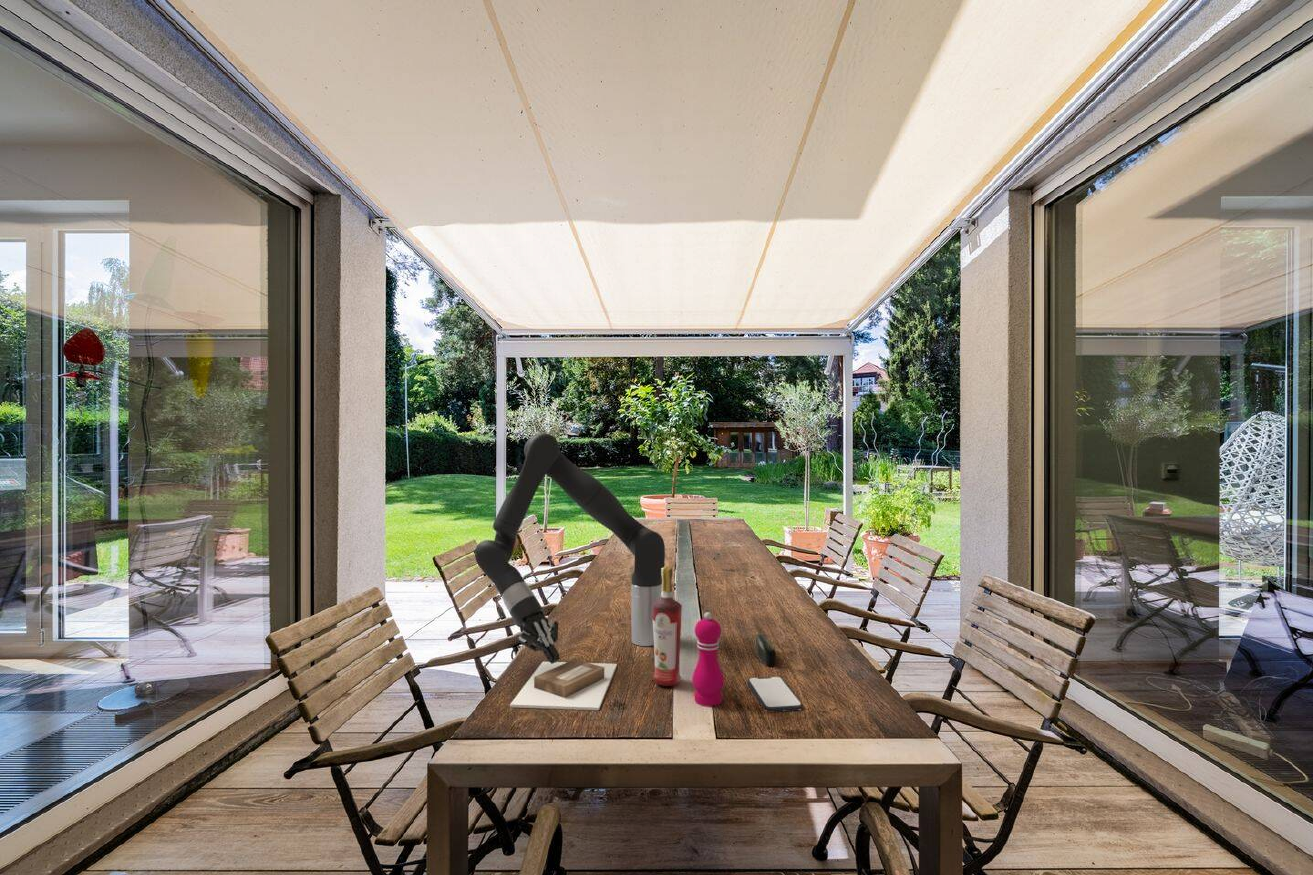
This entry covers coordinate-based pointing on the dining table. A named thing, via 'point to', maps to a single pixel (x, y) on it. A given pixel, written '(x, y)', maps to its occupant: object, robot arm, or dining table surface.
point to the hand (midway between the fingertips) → (555, 660)
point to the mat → (578, 701)
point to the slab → (569, 678)
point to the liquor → (667, 633)
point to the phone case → (774, 694)
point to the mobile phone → (765, 651)
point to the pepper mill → (708, 663)
